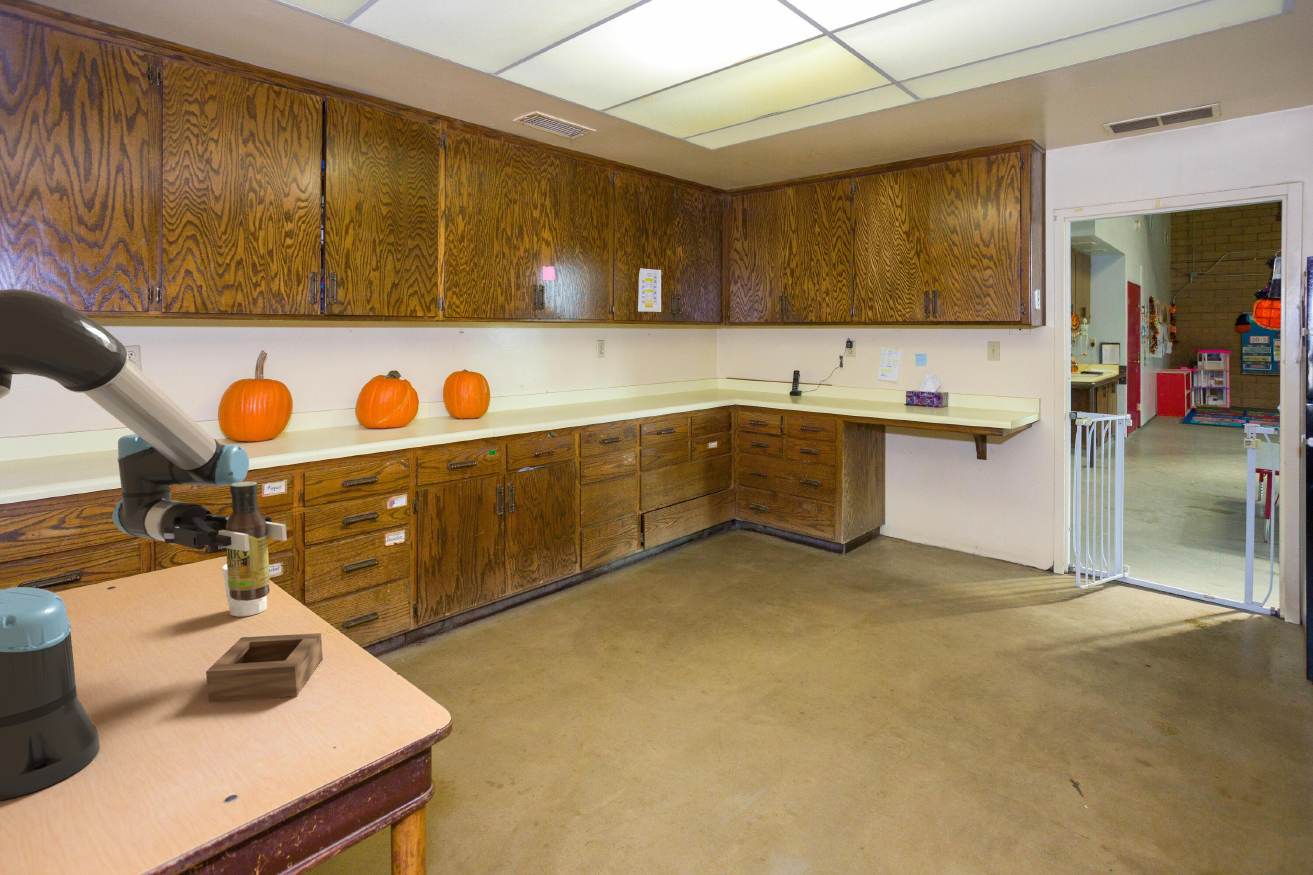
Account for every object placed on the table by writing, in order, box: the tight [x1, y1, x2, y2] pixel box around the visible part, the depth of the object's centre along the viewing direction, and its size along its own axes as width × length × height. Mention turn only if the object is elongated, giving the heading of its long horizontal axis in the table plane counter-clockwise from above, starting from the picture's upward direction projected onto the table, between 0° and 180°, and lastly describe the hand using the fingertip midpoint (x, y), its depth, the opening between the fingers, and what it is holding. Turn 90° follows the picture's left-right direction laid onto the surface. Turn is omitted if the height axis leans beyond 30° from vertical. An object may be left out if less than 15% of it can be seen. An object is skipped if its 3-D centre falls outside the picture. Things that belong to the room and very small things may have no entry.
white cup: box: [221, 563, 268, 618], centre depth 151 cm, size 8×8×10 cm
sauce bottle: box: [225, 481, 271, 601], centre depth 125 cm, size 6×6×20 cm
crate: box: [205, 632, 324, 703], centre depth 121 cm, size 13×13×5 cm
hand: (265, 537), depth 123 cm, fingers closed on sauce bottle, 6 cm apart
